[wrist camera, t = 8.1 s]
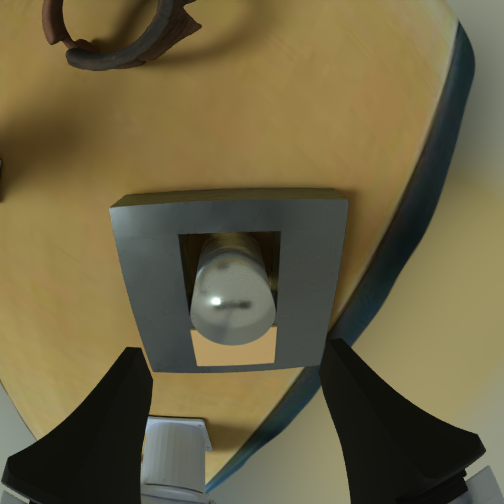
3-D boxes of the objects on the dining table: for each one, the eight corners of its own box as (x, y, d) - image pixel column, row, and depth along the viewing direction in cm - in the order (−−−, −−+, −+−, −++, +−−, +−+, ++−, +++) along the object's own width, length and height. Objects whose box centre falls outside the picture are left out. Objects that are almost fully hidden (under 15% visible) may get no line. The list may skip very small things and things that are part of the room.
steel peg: (261, 281, 19) (273, 342, 14) (203, 284, 19) (196, 346, 14) (261, 227, 17) (277, 277, 12) (197, 230, 17) (185, 281, 12)
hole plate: (312, 343, 22) (320, 366, 20) (158, 349, 21) (152, 373, 19) (333, 188, 17) (350, 200, 14) (124, 195, 16) (107, 209, 13)
